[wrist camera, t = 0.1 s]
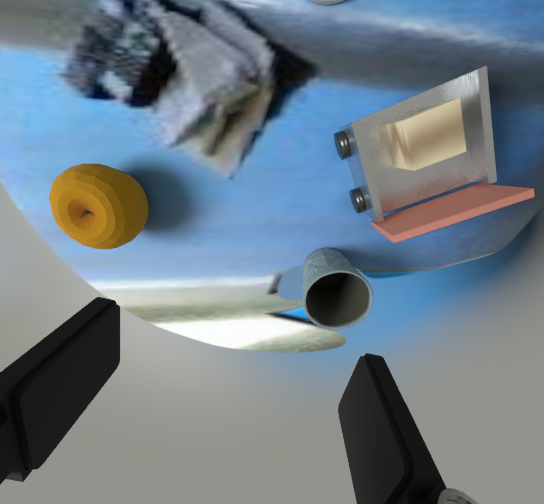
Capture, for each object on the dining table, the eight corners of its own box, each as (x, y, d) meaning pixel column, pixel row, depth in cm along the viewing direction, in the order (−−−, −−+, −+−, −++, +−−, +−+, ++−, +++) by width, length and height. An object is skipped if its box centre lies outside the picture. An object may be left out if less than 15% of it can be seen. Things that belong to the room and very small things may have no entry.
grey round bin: (289, 277, 50) (291, 313, 39) (316, 233, 47) (326, 259, 35) (334, 298, 51) (348, 340, 40) (363, 257, 48) (388, 289, 37)
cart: (331, 131, 40) (342, 126, 33) (455, 78, 37) (497, 60, 30) (355, 213, 45) (369, 225, 38) (467, 173, 42) (506, 177, 34)
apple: (124, 245, 49) (80, 272, 39) (74, 185, 45) (10, 196, 35) (176, 213, 46) (145, 231, 36) (129, 145, 43) (77, 144, 32)
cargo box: (385, 124, 35) (404, 120, 30) (431, 106, 34) (459, 97, 29) (395, 167, 37) (414, 170, 32) (438, 151, 36) (466, 151, 31)
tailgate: (370, 221, 41) (392, 235, 32) (479, 183, 38) (533, 188, 30) (373, 229, 41) (394, 245, 33) (480, 192, 38) (534, 200, 30)
